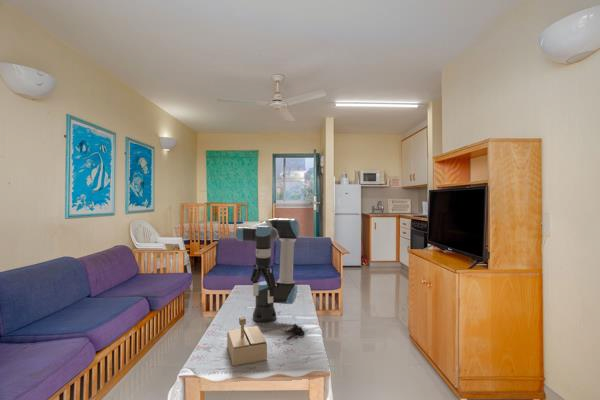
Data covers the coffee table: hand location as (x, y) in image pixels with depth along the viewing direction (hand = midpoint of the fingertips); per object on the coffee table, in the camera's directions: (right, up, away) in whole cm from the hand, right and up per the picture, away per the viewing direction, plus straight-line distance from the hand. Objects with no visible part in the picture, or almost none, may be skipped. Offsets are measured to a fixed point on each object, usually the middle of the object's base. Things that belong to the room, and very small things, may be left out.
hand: (262, 299), depth 155 cm
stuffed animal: (+16, -28, +22) cm, 38 cm away
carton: (-8, -27, 0) cm, 28 cm away
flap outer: (-12, -19, -2) cm, 22 cm away
